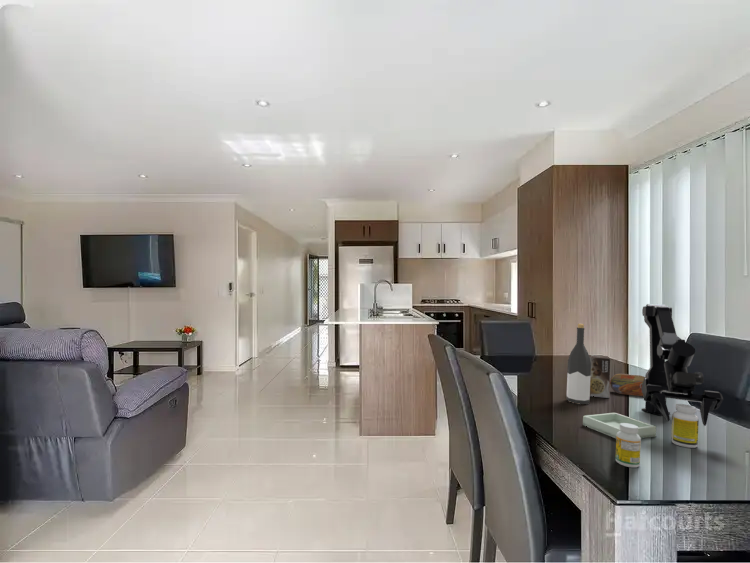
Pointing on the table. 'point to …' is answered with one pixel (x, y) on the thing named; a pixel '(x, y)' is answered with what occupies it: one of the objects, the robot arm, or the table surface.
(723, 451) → the table surface
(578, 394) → the wine bottle
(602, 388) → the coffee box
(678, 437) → the pill bottle
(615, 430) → the tray
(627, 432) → the supplement bottle
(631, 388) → the tin
